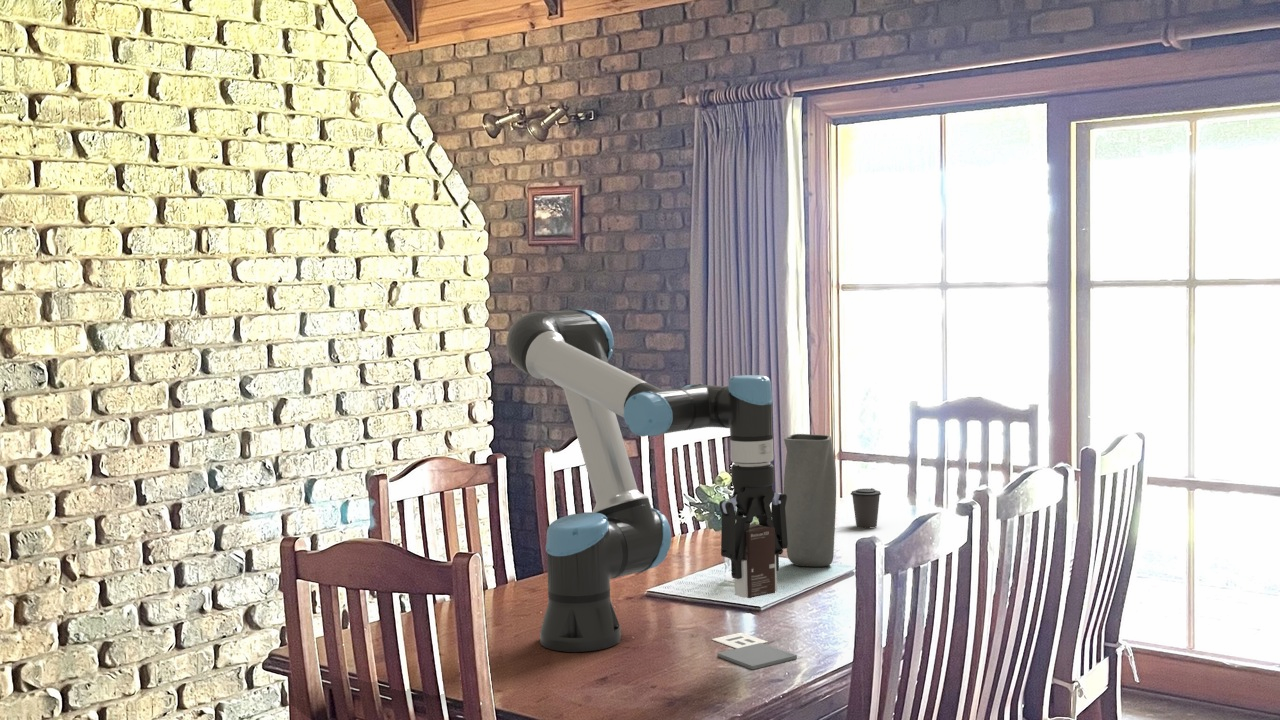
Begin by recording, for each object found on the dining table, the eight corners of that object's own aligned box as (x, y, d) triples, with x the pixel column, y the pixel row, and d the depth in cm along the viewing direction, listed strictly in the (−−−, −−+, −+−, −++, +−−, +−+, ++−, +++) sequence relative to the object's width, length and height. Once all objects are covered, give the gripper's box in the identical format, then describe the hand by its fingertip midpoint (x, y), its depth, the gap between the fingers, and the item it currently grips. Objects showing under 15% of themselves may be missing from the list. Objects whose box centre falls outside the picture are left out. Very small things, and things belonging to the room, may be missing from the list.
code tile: (738, 649, 234) (738, 648, 234) (711, 639, 241) (711, 638, 241) (767, 642, 238) (767, 641, 238) (740, 633, 245) (740, 632, 245)
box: (751, 599, 225) (748, 531, 224) (735, 594, 228) (732, 527, 228) (778, 593, 228) (775, 526, 227) (761, 589, 232) (759, 523, 231)
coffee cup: (886, 525, 345) (885, 487, 344) (875, 530, 338) (874, 492, 337) (858, 522, 349) (857, 486, 348) (846, 528, 342) (845, 490, 341)
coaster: (752, 669, 222) (752, 666, 222) (717, 656, 230) (717, 653, 230) (796, 658, 228) (796, 655, 228) (760, 646, 236) (760, 642, 236)
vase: (795, 557, 309) (792, 432, 307) (844, 560, 303) (841, 434, 301) (776, 567, 298) (773, 439, 296) (826, 572, 292) (824, 440, 290)
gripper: (722, 471, 218) (726, 605, 220) (807, 459, 229) (810, 588, 230) (696, 466, 225) (700, 597, 226) (779, 455, 235) (783, 581, 236)
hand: (756, 592), depth 228 cm, fingers closed on box, 6 cm apart
